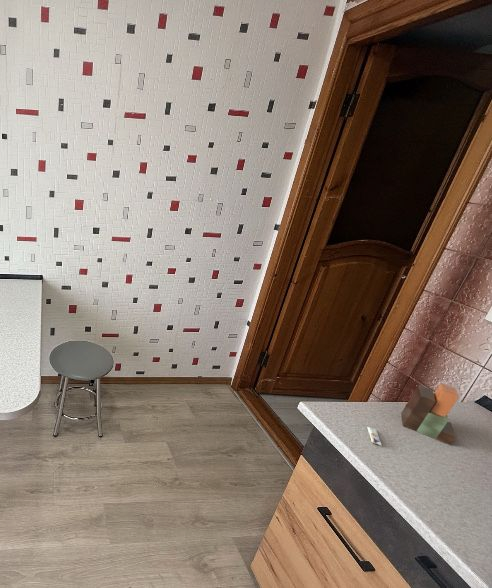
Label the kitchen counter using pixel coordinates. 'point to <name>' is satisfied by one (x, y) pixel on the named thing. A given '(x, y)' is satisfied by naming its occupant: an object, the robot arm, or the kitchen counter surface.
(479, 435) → the kitchen counter surface
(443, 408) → the matte orange cuboid
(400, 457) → the kitchen counter surface
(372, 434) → the granola bar
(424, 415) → the step rack
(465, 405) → the kitchen counter surface
